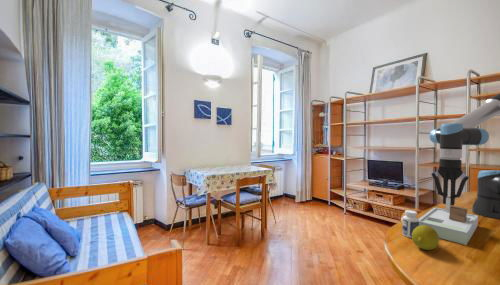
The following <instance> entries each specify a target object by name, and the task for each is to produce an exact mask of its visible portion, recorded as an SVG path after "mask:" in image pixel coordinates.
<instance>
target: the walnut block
mask: <svg viewBox="0 0 500 285" xmlns="http://www.w3.org/2000/svg"><path fill="white" fill-rule="evenodd" d="M467 214H468V208H465V207H460V206H456V205H451V207H450V215H449V219H452V220H455V221H459V222H463V223H464V222H465V221H466V218H467Z"/></svg>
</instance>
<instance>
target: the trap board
mask: <svg viewBox="0 0 500 285" xmlns="http://www.w3.org/2000/svg"><path fill="white" fill-rule="evenodd" d="M449 215H450V213H447V212H446V208H440V207H433V208H432V209H430V210H428V212H426V213H425V214H423V215H421V216H420V217H419V218H418V219H419V226H421V225H426V226H430V227H431V228H433V229H434V230H435V231H436V232H437V234H438V236H439V239H442V240H446V241H449V242H453V243H457V244H461V245H464V246H467V245H468V243H469V242H470V240H471V238H472V236H473V234H474V232H476V229H477V228H478V222H479V215H478V214H471V213H467V218H466V221H465V222H464V223H463V222H459V221H455V220H452V219H449Z"/></svg>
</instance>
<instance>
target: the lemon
mask: <svg viewBox="0 0 500 285" xmlns="http://www.w3.org/2000/svg"><path fill="white" fill-rule="evenodd" d="M411 239H412V242H413V243H414V244H415V246H417V247H418V248H420V249H422V250H425V251H432V250H435V249H436V248H437V247H438V246H439V242H440V238H439V236H438V234H437V232H436V231H435V230H434V229H433V228H431V227H430V226H426V225H421V226H418V227H416V228H415V229H414V230H413V232H412V238H411Z"/></svg>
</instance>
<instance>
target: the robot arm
mask: <svg viewBox="0 0 500 285" xmlns="http://www.w3.org/2000/svg"><path fill="white" fill-rule="evenodd" d="M499 116H500V92H499V93H498V94H495V95H494V96H491V97H490V98H488V99H486V100H484V101H483V103H482V105H480V106H479V107H477V108H475V109H473V110H472V111H470V112H468V113H466V114H465V115H463V116H461V117H459V118H457V119H456V120H454V121H452V122H449V123H448V122H447V123H443V124H441V126H440V128H434V129H432V130H431V131H430V133H429V140H430V141H431V142H432V143H433V144H439V162H438V164H439V165H438V166H439V167H438V169H437V171H435V172H432V173H431V177H432V178H433V179H434V183H435V186H436V187H435V188H436V191H437V195H440V196H442V203H443V205H445V209H446V212H447V213H450V207H452V206H455V203H456V202H455V200H456V198H460V197H461V196H462V192H463V191H464V187H465V185H466V183H467V181H468V180H469V179H470V176H469V175H466V174H464V172H463V170H462V162H463V160H461V159H462V158H463V146H481V145H485V144H486V143H487V142H488V141H489V139H490V135H489V134H490V133H489V132H488V131H487V130H486V129H484V128H479V126H480V125H482V124H484V123H486V122H488V121H489V120H491V119H493V118H494V117H499ZM439 176H440V177H441V178H442V179H443V180H442V182H443V183H442V185H443V188H442V185H441V181H440V178H439ZM460 177H461V178H460ZM459 178H460V179H461V181H460V183H459V186H458V190H457V191H456V182H457V180H458V179H459ZM449 181H450V196H448V195H449V194H448V193H449V191H448V190H449V189H448V188H449ZM476 187H477V188H476V191H477V193H476V198H475V201H474V203H473V204H472V207H471V212H472V213H474V214H475V215H478V216H483V217H487V218H493V219H497V220H498V219H500V170H498V169H497V170H495V169H494V170H493V169H492V170H489V169H488V170H487V169H485V170H480V171H478V175H477V186H476Z"/></svg>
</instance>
